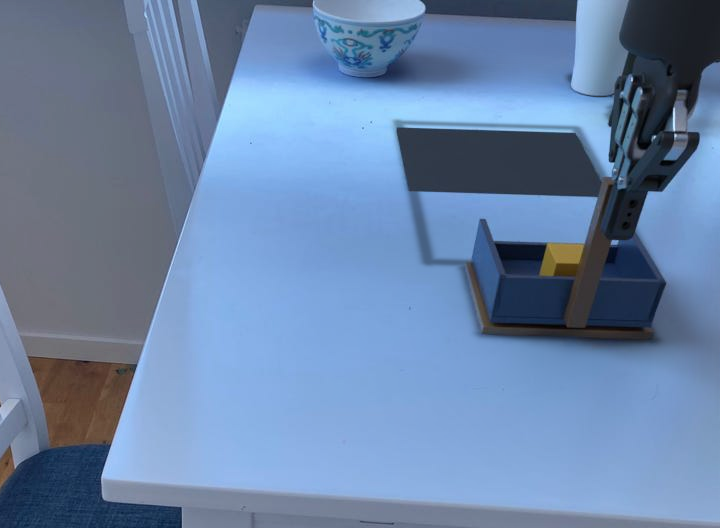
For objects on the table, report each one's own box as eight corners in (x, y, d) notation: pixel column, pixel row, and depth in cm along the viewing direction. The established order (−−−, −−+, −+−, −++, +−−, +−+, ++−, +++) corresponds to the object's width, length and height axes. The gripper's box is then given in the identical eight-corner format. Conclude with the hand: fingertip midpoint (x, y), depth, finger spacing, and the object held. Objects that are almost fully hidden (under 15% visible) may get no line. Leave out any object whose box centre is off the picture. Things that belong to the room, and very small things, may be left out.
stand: (616, 282, 91) (621, 266, 90) (648, 348, 83) (654, 332, 82) (462, 277, 91) (465, 261, 90) (479, 343, 83) (483, 326, 82)
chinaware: (356, 44, 138) (362, -18, 132) (438, 70, 131) (448, 6, 125) (286, 67, 131) (289, 2, 125) (369, 96, 124) (377, 29, 118)
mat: (574, 136, 116) (575, 132, 116) (650, 278, 92) (651, 274, 92) (396, 130, 116) (396, 127, 116) (425, 271, 92) (426, 267, 92)
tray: (616, 266, 90) (661, 126, 81) (655, 337, 81) (710, 187, 72) (470, 261, 90) (498, 121, 81) (492, 331, 81) (527, 181, 72)
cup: (646, 101, 124) (684, -20, 114) (571, 104, 123) (603, -19, 113) (613, 74, 131) (646, -43, 121) (542, 76, 130) (569, -41, 120)
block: (580, 287, 86) (592, 243, 83) (589, 308, 83) (603, 264, 80) (536, 286, 86) (547, 242, 83) (544, 307, 83) (556, 262, 80)
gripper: (798, -5, 55) (689, 278, 68) (725, -58, 64) (641, 201, 77) (671, -9, 55) (585, 275, 68) (616, -61, 64) (549, 198, 77)
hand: (615, 235), depth 72 cm, fingers closed
